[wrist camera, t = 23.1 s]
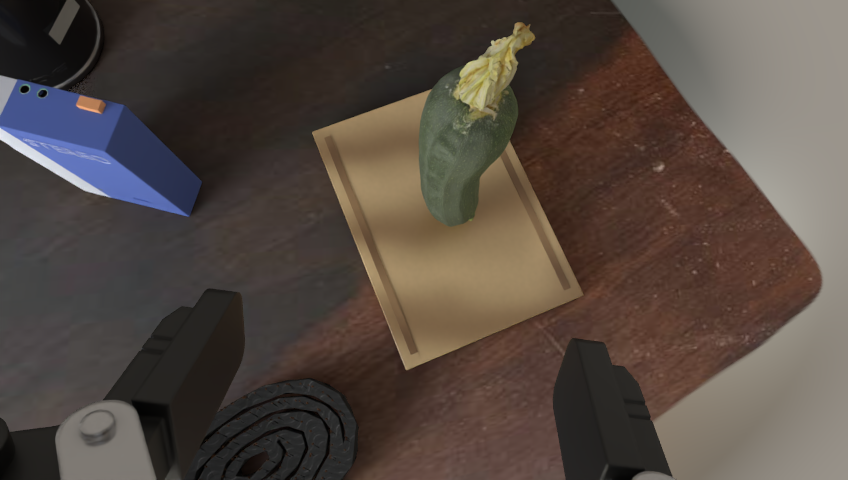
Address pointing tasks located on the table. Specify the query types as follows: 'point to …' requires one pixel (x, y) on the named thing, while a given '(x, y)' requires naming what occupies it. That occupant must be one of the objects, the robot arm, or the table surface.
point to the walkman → (94, 146)
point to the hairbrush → (282, 435)
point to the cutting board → (441, 238)
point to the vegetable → (468, 128)
